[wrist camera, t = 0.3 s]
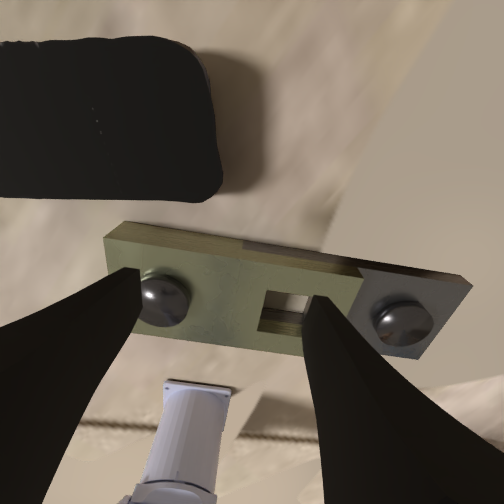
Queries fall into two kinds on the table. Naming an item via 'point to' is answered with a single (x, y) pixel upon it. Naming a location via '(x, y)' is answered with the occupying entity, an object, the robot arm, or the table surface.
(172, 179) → the black sponge
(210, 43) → the table surface
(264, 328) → the green peg socket base
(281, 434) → the table surface
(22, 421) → the robot arm
